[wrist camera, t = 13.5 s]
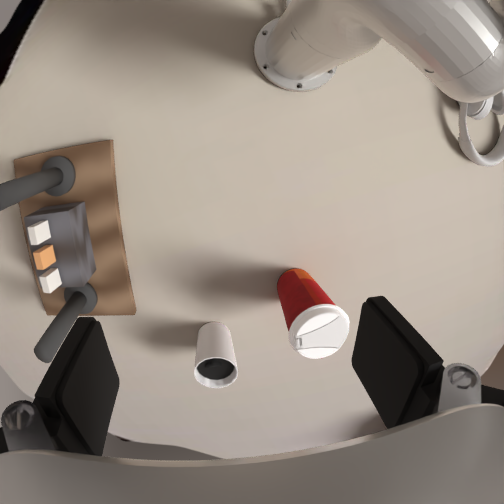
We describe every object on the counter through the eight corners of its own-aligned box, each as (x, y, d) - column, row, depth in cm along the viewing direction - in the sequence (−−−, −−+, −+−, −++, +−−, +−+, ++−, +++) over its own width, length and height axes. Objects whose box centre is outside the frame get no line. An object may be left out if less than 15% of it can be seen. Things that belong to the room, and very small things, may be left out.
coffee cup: (273, 310, 53) (293, 367, 39) (267, 267, 49) (288, 318, 36) (319, 300, 53) (352, 352, 39) (317, 257, 50) (354, 302, 36)
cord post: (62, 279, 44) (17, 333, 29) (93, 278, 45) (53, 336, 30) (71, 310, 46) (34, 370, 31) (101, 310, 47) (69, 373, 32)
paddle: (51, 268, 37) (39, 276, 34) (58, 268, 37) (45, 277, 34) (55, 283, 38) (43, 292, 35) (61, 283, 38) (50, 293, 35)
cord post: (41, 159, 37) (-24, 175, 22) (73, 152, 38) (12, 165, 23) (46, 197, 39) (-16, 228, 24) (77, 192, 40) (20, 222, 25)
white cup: (187, 337, 52) (185, 375, 43) (211, 312, 51) (212, 349, 42) (217, 355, 55) (219, 393, 45) (240, 332, 53) (247, 370, 44)
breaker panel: (18, 158, 37) (-8, 164, 30) (112, 139, 39) (94, 140, 32) (50, 311, 47) (33, 333, 40) (136, 310, 49) (127, 335, 42)
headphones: (437, 69, 40) (450, 168, 50) (467, 71, 33) (477, 181, 43) (490, 66, 40) (499, 151, 49) (517, 70, 33) (523, 161, 43)
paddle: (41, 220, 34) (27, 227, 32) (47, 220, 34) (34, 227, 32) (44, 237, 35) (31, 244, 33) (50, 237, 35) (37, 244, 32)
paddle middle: (45, 244, 36) (32, 252, 33) (52, 244, 36) (39, 252, 33) (49, 260, 37) (37, 269, 34) (56, 261, 37) (43, 269, 34)
